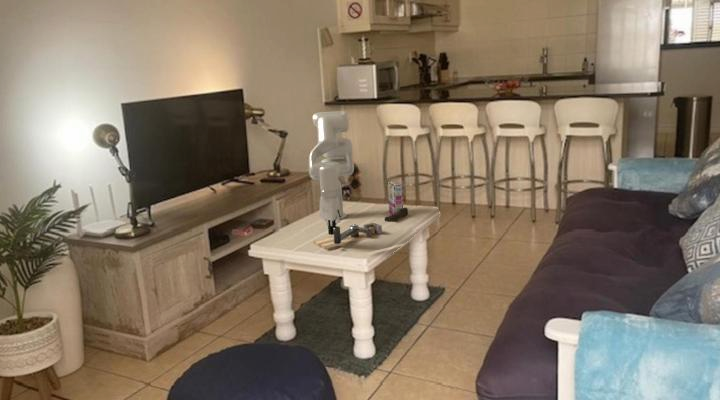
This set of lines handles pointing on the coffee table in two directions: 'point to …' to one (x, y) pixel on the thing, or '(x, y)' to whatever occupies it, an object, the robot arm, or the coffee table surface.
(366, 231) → the lever
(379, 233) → the tan wooden panel
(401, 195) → the candy bar box
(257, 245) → the coffee table surface
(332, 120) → the robot arm
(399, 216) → the hand tool
